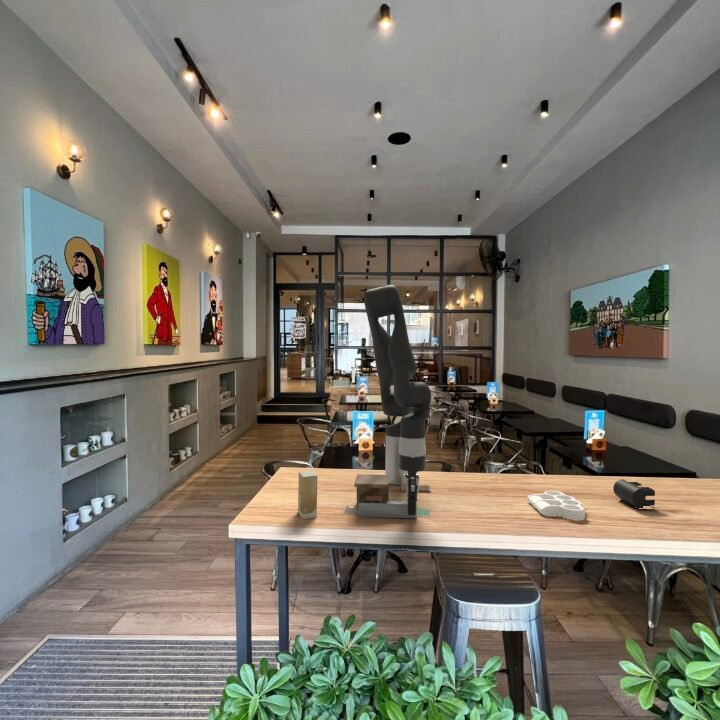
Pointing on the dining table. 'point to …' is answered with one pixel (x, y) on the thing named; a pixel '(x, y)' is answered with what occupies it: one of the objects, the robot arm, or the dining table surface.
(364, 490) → the brown wooden box
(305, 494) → the skincare box
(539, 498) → the white segmented tray
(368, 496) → the block
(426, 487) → the dowel
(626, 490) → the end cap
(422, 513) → the green flat plank
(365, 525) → the dining table surface
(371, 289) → the robot arm
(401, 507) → the crook
